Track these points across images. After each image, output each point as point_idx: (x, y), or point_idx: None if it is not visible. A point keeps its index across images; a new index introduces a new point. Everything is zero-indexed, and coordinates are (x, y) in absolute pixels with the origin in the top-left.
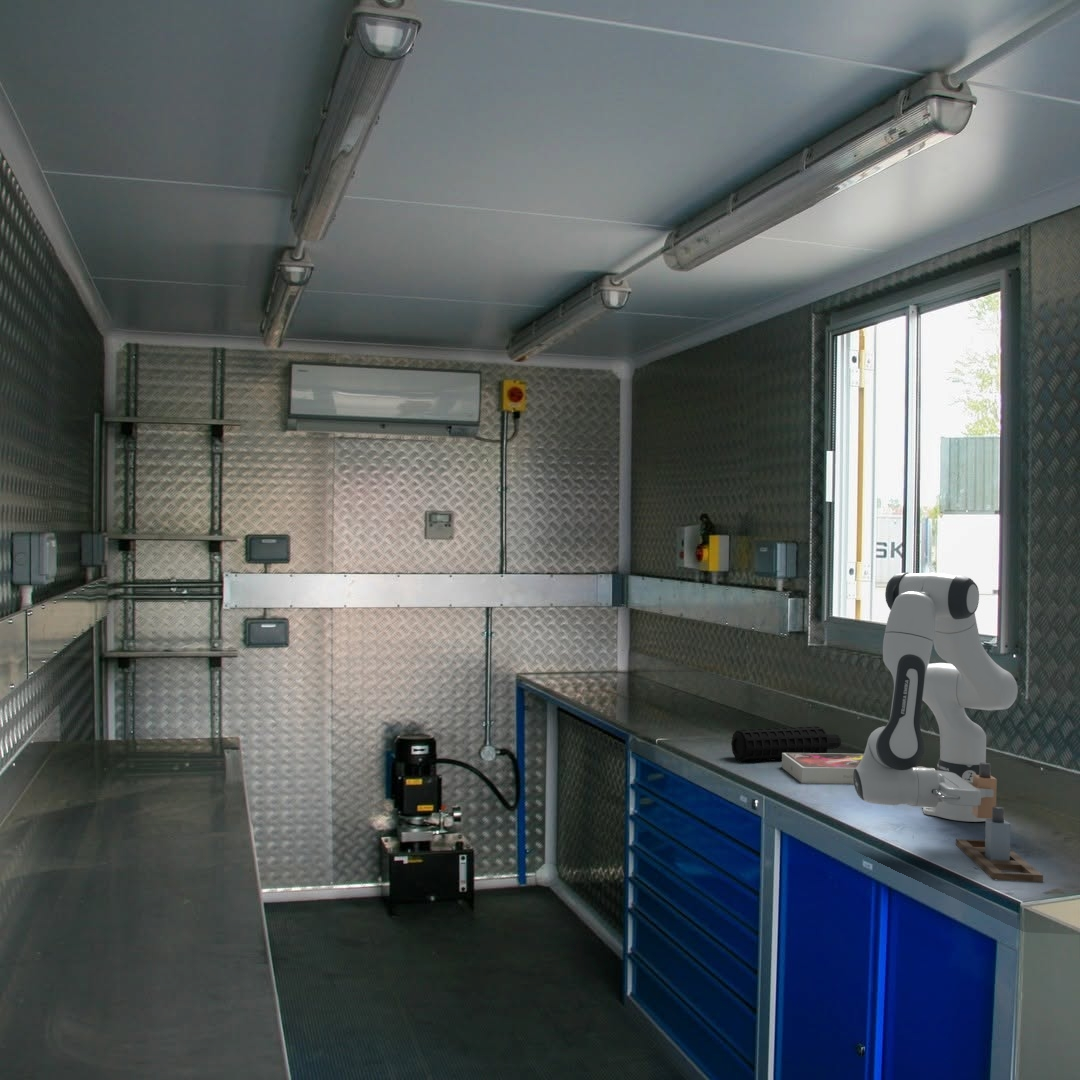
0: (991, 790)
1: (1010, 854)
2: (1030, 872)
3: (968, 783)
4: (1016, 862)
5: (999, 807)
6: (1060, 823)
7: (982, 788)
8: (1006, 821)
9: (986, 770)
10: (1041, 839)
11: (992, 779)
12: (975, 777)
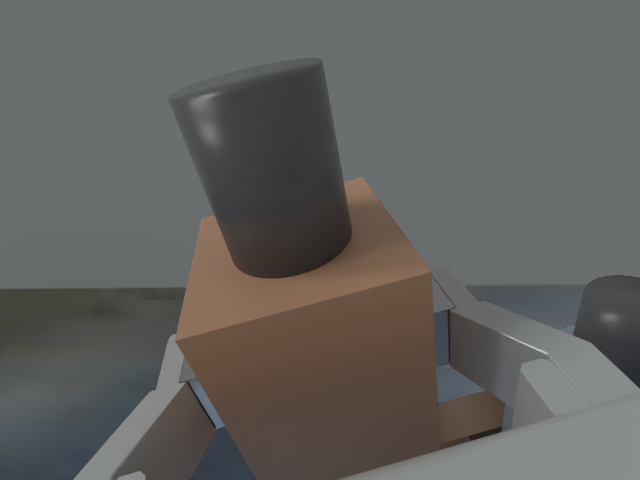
0: (449, 274)
1: (486, 420)
2: None
3: (563, 459)
4: None
5: (615, 297)
6: (26, 304)
7: (482, 322)
8: (562, 330)
9: (335, 142)
10: (162, 339)
11: (374, 198)
12: (291, 324)
